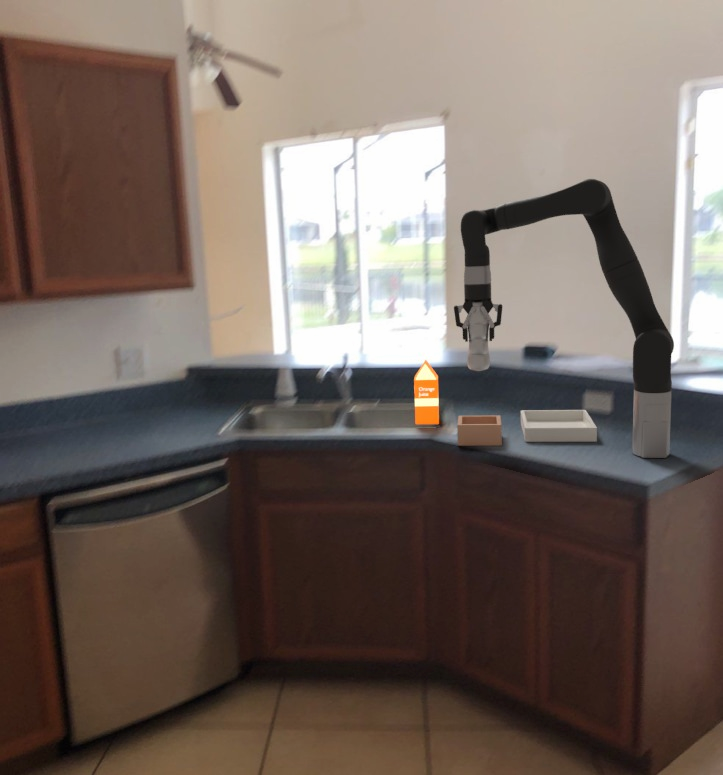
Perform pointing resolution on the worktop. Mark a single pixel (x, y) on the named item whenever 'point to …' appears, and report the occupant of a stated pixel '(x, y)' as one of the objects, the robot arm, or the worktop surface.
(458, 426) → the terracotta holder
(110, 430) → the worktop surface
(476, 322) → the plastic bottle
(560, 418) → the plastic tray
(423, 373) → the orange juice
